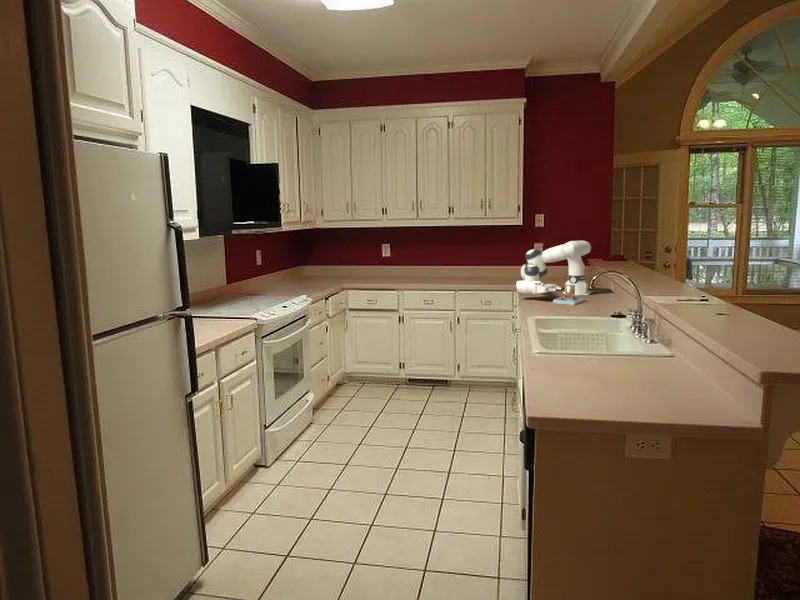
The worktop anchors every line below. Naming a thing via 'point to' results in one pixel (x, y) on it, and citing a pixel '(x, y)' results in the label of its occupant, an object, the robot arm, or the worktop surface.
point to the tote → (563, 301)
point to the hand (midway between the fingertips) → (558, 289)
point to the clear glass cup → (570, 292)
